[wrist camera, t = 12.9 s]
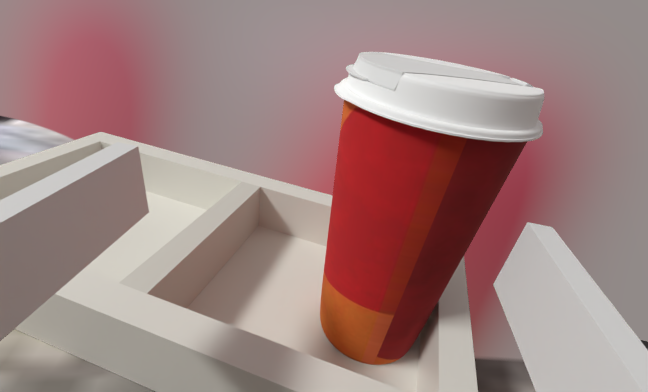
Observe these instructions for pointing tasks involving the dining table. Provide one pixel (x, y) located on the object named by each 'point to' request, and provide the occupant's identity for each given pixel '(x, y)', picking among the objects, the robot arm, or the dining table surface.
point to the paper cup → (412, 191)
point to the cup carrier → (225, 289)
